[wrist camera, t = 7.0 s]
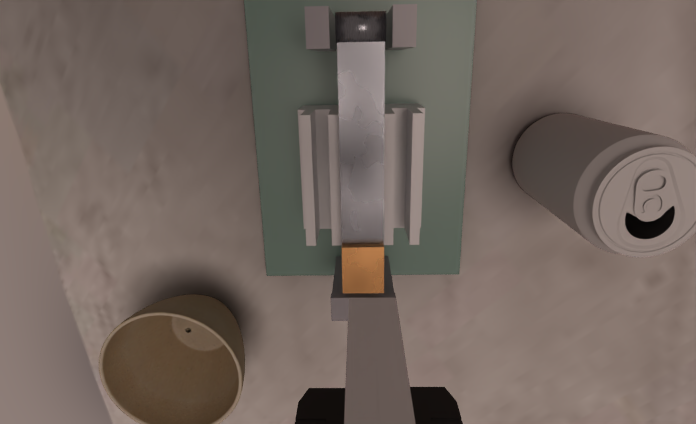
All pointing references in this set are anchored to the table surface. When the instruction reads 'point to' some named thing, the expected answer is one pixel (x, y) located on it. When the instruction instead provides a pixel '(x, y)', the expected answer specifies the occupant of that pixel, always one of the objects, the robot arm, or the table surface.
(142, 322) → the flower pot
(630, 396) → the table surface
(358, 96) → the grey long bar
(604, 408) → the table surface
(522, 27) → the table surface
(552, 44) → the table surface
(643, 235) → the beverage can
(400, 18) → the board
